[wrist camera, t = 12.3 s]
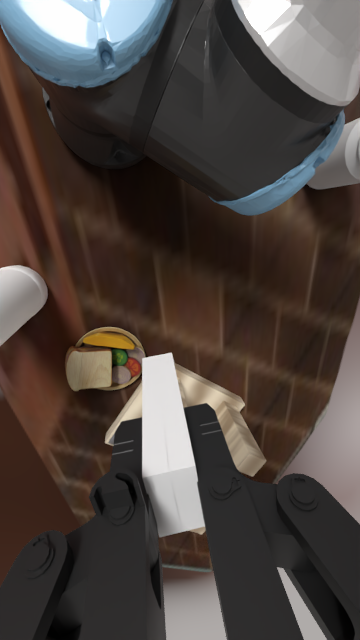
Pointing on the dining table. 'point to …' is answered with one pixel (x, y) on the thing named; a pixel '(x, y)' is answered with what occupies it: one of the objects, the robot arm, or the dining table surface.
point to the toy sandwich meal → (104, 360)
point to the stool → (226, 410)
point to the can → (341, 161)
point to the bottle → (19, 298)
